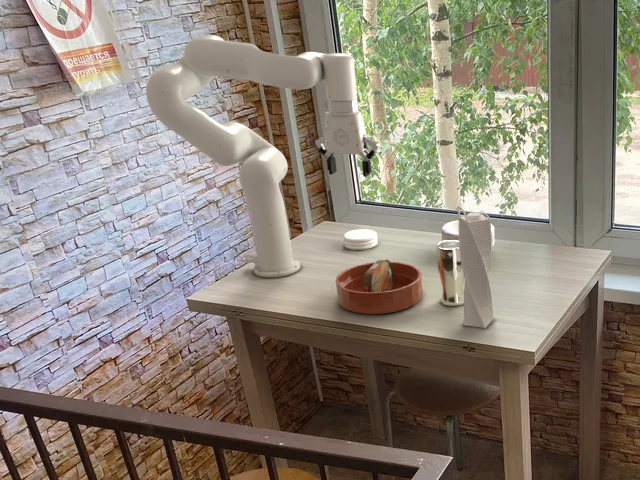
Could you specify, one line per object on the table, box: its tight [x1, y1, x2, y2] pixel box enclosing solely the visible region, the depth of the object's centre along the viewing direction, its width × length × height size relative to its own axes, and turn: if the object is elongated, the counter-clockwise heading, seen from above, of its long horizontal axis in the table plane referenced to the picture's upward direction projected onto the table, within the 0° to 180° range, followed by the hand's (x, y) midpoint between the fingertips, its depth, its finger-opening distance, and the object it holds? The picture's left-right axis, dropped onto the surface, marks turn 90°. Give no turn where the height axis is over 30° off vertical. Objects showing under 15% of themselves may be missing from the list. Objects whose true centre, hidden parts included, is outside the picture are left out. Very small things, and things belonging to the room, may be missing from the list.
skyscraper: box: [456, 205, 495, 329], centre depth 181 cm, size 8×8×28 cm
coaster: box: [343, 228, 379, 251], centre depth 237 cm, size 10×10×4 cm
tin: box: [363, 259, 393, 292], centre depth 199 cm, size 15×3×8 cm, turn 168°
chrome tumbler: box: [436, 240, 465, 307], centre depth 195 cm, size 7×7×15 cm
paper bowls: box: [440, 219, 496, 247], centre depth 228 cm, size 15×15×8 cm
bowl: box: [335, 261, 424, 315], centre depth 200 cm, size 21×21×6 cm
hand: (349, 174), depth 207 cm, fingers open, 9 cm apart
